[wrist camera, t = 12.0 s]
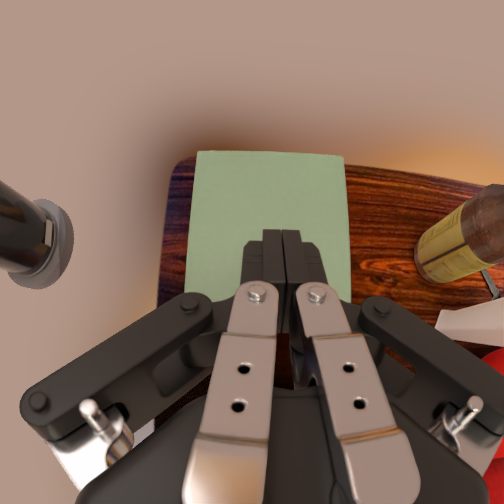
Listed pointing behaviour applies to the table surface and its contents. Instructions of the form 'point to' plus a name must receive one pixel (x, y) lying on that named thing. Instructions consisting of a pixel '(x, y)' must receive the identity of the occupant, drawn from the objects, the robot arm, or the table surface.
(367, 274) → the table surface
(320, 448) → the robot arm
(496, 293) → the knife
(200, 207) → the sage green square panel
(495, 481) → the apple
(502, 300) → the perfume bottle
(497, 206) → the sauce bottle
